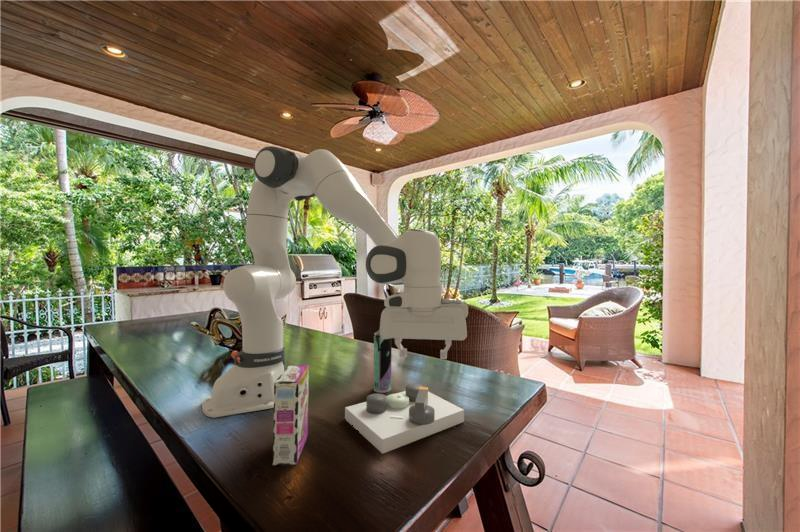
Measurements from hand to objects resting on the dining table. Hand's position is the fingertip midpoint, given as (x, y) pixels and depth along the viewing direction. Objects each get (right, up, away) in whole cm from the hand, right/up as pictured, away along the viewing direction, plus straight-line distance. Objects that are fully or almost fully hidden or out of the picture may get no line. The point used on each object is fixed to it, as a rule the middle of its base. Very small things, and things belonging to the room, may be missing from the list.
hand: (423, 357), depth 75 cm
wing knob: (0, -15, 0) cm, 15 cm away
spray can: (-11, -18, +26) cm, 33 cm away
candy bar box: (-28, -18, -7) cm, 34 cm away
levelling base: (-4, -18, +6) cm, 19 cm away
